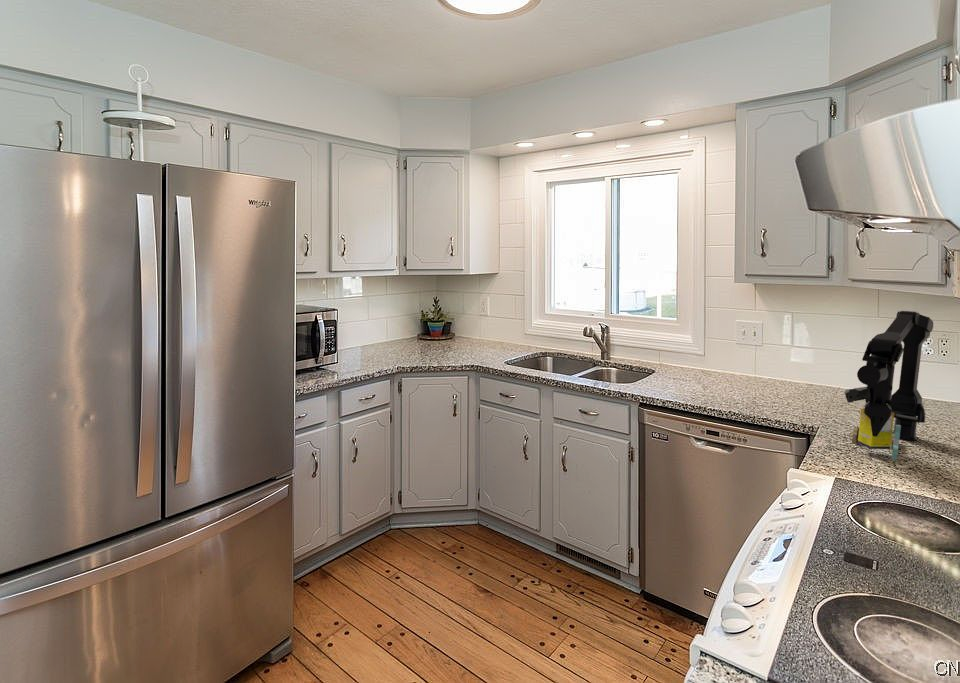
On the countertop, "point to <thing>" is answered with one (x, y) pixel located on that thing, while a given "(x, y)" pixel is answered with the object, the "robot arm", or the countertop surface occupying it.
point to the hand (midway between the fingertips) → (874, 432)
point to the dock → (856, 433)
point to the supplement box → (874, 441)
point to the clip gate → (896, 442)
